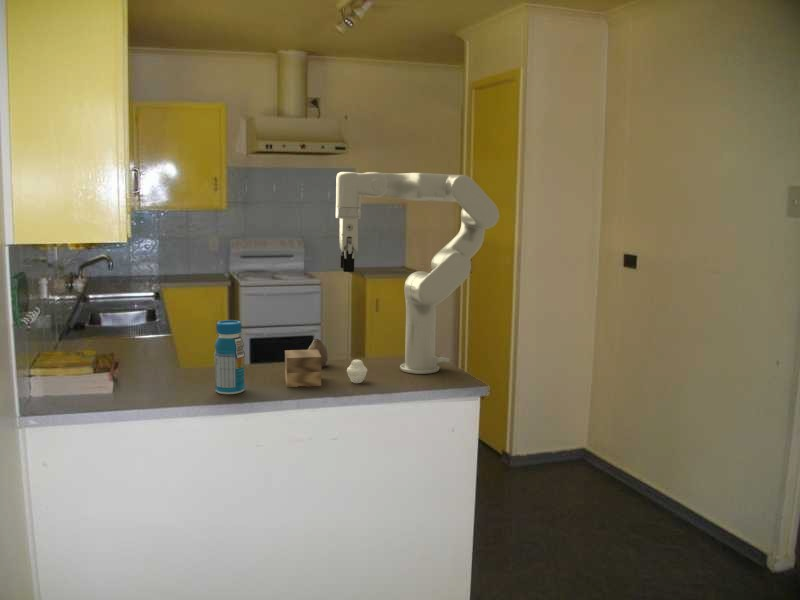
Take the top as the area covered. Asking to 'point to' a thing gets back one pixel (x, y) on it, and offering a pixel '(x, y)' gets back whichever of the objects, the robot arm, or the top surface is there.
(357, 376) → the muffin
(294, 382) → the tower base
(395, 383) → the top surface
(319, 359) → the tower top
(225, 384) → the beverage bottle
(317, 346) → the vase
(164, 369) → the top surface
